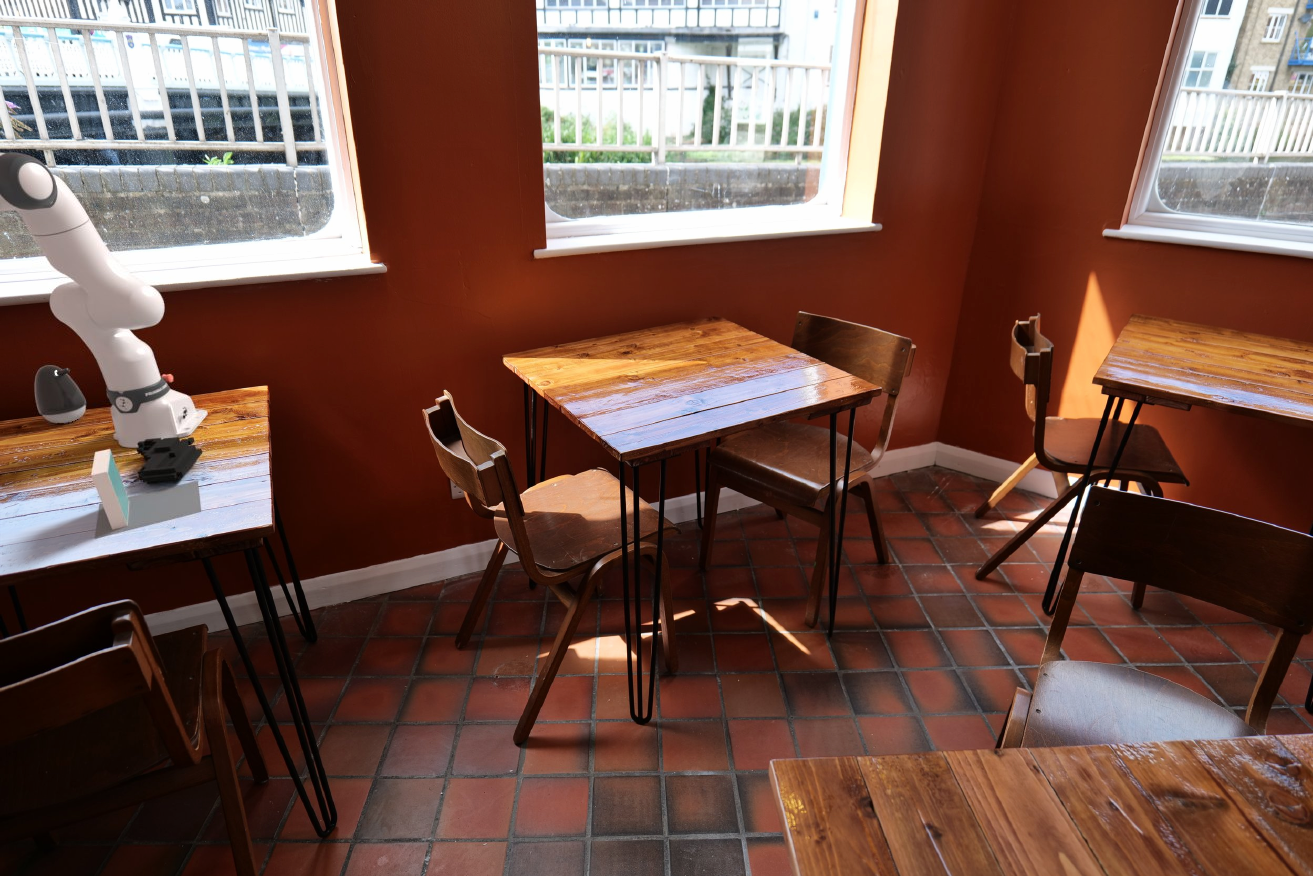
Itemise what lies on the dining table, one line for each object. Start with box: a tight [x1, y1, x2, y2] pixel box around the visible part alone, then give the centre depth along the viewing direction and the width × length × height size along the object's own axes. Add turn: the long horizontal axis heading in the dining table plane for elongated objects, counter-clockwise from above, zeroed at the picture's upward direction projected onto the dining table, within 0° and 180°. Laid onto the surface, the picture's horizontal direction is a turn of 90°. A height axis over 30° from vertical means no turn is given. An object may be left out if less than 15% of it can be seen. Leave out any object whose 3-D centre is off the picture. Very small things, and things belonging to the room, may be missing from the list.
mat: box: [94, 480, 202, 540], centre depth 154 cm, size 18×16×1 cm
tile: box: [90, 448, 129, 530], centre depth 149 cm, size 2×12×12 cm, turn 31°
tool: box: [136, 436, 203, 485], centre depth 170 cm, size 5×20×15 cm
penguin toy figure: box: [34, 364, 87, 424], centre depth 196 cm, size 10×10×15 cm
